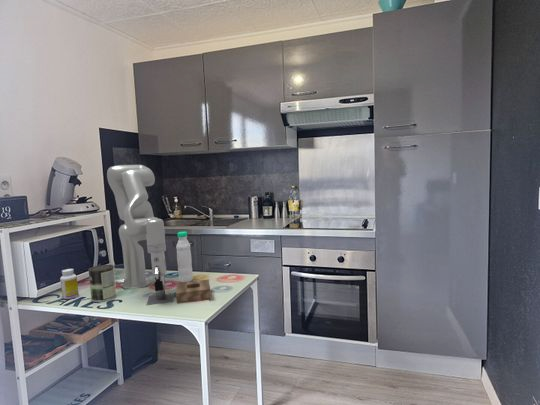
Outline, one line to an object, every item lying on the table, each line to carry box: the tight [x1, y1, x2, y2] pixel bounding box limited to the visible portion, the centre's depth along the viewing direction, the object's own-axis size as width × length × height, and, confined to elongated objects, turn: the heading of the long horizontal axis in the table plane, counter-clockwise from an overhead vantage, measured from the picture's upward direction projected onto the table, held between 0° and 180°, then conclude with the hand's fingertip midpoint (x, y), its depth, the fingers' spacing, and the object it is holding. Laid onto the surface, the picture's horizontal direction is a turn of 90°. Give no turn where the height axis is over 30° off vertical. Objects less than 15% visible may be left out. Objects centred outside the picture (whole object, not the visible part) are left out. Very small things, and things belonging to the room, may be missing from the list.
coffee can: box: [87, 264, 117, 303], centre depth 159 cm, size 10×10×14 cm
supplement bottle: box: [59, 268, 80, 300], centre depth 162 cm, size 7×7×13 cm
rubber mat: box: [145, 292, 176, 306], centre depth 152 cm, size 11×11×1 cm
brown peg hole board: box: [175, 278, 212, 305], centre depth 154 cm, size 14×14×5 cm
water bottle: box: [175, 231, 194, 283], centre depth 177 cm, size 7×7×25 cm
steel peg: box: [155, 275, 167, 301], centre depth 151 cm, size 4×4×12 cm
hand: (160, 287), depth 151 cm, fingers open, 9 cm apart
